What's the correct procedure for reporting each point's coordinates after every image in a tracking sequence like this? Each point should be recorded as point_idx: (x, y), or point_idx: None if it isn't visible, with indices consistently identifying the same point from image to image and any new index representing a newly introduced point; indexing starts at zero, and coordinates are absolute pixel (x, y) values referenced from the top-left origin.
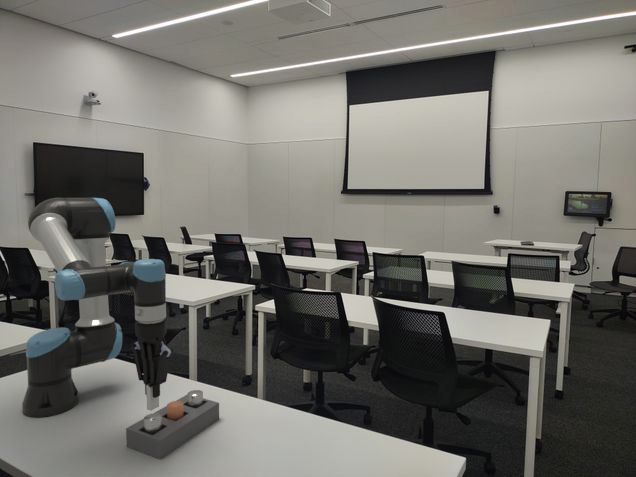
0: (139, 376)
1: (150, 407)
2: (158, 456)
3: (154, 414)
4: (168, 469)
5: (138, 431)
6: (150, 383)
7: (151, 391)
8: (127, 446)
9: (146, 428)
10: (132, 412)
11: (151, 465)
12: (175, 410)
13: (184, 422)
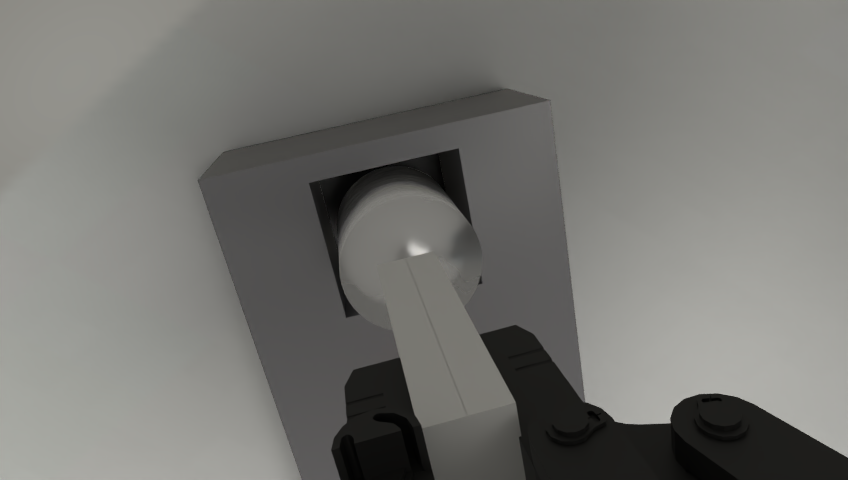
0: (760, 442)
1: (387, 276)
2: (232, 152)
3: None
4: (93, 136)
5: (439, 141)
6: (524, 472)
7: (409, 389)
8: (499, 90)
9: (389, 184)
10: (789, 292)
11: (209, 88)
12: None
13: (304, 414)
